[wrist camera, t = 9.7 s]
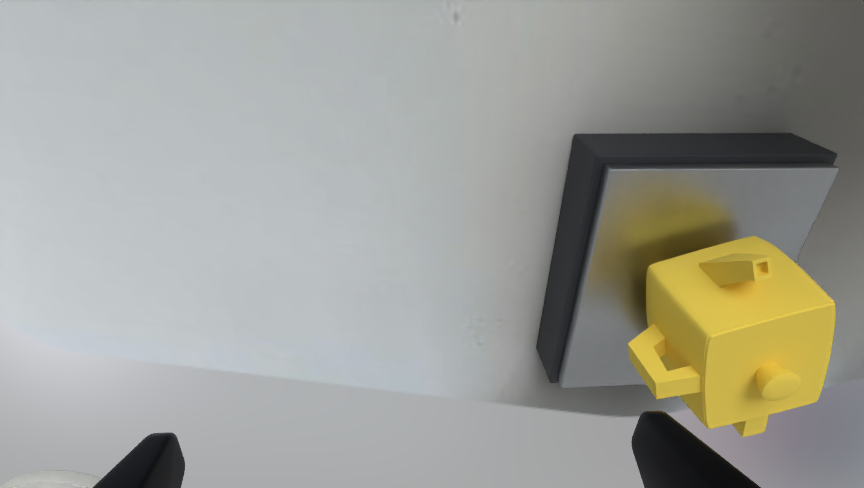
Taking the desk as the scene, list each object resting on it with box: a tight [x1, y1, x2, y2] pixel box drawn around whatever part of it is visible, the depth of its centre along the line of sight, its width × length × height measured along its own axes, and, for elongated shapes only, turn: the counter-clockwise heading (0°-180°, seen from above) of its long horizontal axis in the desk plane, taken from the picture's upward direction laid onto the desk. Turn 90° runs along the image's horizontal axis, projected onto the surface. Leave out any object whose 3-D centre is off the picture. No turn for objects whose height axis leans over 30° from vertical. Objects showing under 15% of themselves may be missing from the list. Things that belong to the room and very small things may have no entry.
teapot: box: [628, 236, 836, 437], centre depth 17 cm, size 8×6×5 cm
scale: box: [536, 133, 840, 388], centre depth 21 cm, size 11×9×3 cm
